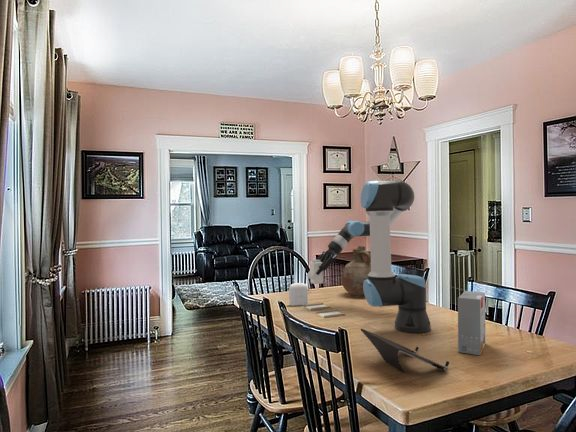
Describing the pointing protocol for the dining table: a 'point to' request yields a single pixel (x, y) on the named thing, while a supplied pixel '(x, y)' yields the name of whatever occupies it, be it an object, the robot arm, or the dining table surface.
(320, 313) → the dock board
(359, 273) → the jug
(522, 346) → the dining table surface
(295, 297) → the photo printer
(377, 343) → the portable electronic device stand
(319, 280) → the white rectangular box
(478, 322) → the hard drive box
